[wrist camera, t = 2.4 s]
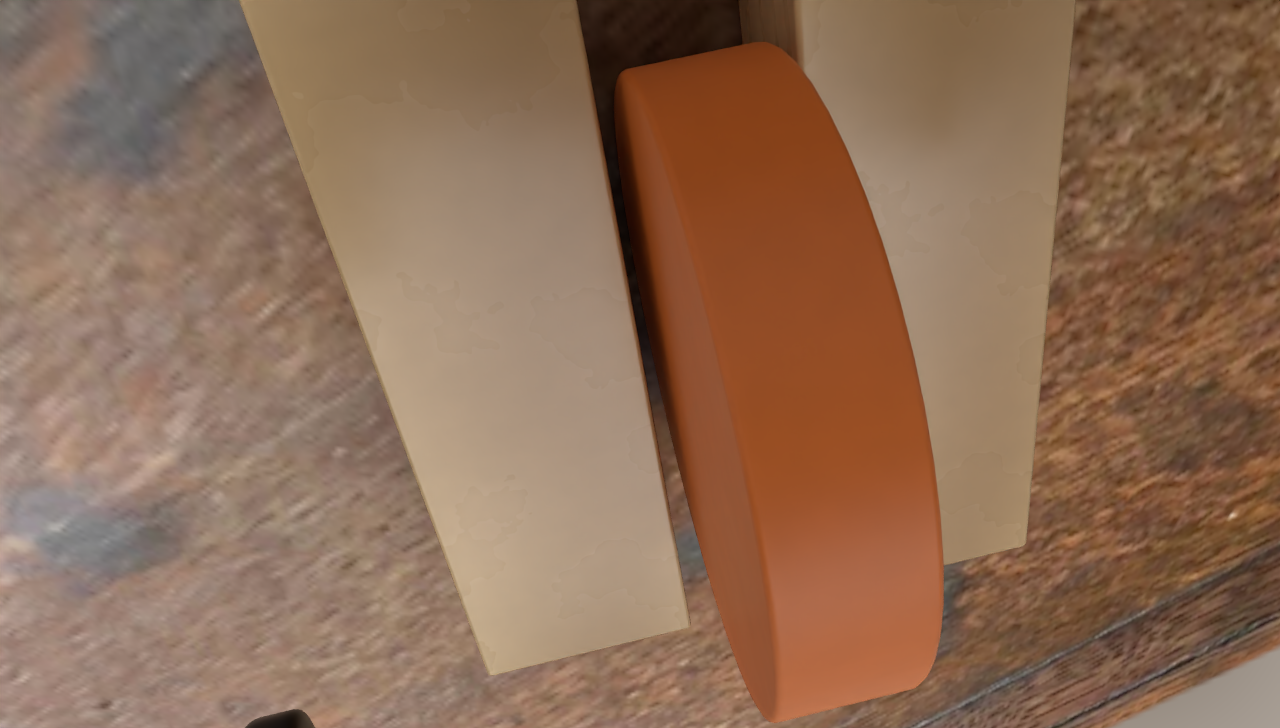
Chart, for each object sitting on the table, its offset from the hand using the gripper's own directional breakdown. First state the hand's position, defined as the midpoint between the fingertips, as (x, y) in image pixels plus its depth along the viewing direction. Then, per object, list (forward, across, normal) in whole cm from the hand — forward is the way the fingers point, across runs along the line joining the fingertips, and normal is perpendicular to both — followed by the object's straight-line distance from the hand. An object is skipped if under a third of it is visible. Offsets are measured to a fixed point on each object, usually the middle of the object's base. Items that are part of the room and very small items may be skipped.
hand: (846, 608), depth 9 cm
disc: (+7, 0, 0) cm, 7 cm away
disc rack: (+7, 0, 0) cm, 7 cm away
